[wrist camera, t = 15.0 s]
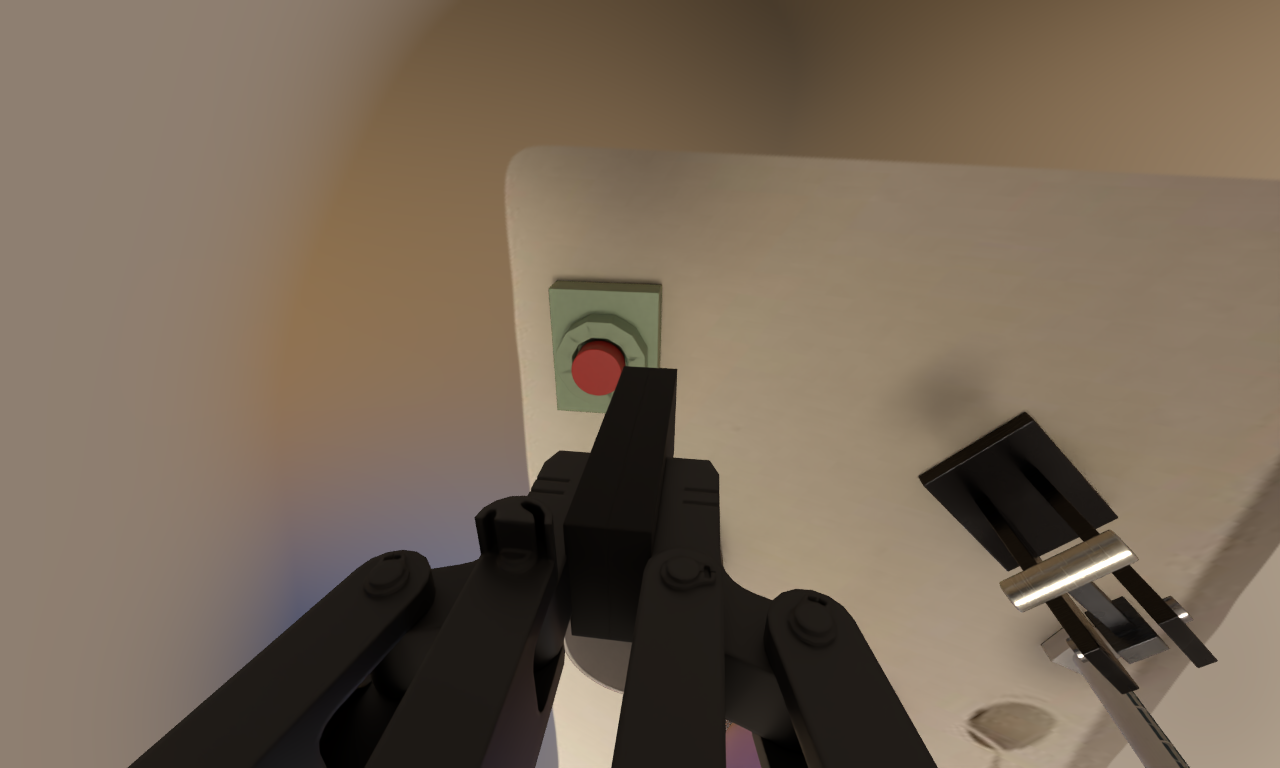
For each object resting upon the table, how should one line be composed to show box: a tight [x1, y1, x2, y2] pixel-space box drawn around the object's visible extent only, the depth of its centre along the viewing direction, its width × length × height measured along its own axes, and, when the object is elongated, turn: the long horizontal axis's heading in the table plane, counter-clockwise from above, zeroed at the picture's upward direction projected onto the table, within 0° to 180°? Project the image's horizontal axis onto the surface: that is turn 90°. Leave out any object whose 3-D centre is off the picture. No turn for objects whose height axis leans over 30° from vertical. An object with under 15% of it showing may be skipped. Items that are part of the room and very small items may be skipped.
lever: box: [999, 530, 1170, 664], centre depth 28 cm, size 13×6×2 cm, turn 46°
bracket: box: [919, 413, 1218, 694], centre depth 35 cm, size 12×9×15 cm
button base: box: [549, 281, 662, 413], centre depth 39 cm, size 10×8×4 cm
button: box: [571, 341, 625, 396], centre depth 37 cm, size 4×4×2 cm
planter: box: [564, 549, 723, 694], centre depth 45 cm, size 13×13×10 cm
